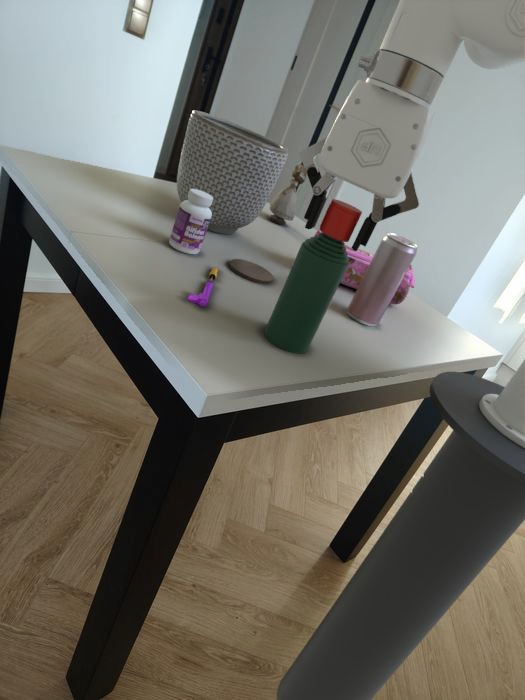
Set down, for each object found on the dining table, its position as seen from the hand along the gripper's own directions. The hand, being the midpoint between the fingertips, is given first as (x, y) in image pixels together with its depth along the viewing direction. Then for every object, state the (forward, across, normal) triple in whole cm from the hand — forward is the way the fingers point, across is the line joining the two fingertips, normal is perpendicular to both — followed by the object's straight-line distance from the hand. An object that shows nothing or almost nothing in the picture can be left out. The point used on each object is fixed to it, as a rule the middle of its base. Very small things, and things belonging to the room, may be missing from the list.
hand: (332, 236), depth 62 cm
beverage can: (+15, +9, +23) cm, 29 cm away
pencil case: (+15, +4, +38) cm, 41 cm away
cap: (0, 0, 0) cm, 0 cm away
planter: (+15, -27, +36) cm, 48 cm away
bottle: (+15, 0, 0) cm, 15 cm away
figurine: (+15, -20, +66) cm, 70 cm away
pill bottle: (+15, -23, +16) cm, 32 cm away
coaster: (+15, -12, +19) cm, 27 cm away
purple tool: (+16, -15, +5) cm, 22 cm away
